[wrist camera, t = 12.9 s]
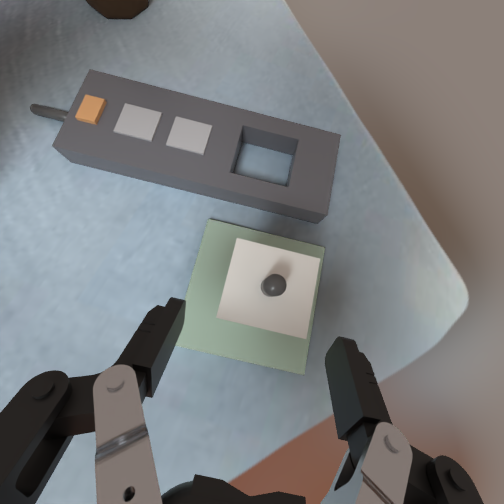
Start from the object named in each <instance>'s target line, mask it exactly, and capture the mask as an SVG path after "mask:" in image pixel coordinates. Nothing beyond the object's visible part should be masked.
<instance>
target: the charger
mask: <svg viewBox="0 0 504 504" xmlns="http://www.w3.org/2000/svg"><path fill="white" fill-rule="evenodd" d="M319 263H320V258H316V257H312V256H308V255H304V254H300V253H296V252H292V251H288V250H284V249H280V248H276V247H272V246H268V245H264V244H260V243H256V242H252V241H248V240H244V239H239V238H237V239H236V243H235V247H234V251H233V255H232V258H231V262H230V266H229V270H228V274H227V278H226V281H225V285H224V289H223V293H222V297H221V301H220V304H219V308H218V312H217V316H216V318H219V319H223V320H227V321H232V322H236V323H240V324H244V325H248V326H253V327H257V328H261V329H265V330H269V331H273V332H278V333H282V334H286V335H290V336H294V337H299V338H303V339H306V338H307V333H308V327H309V321H310V315H311V309H312V303H313V298H314V292H315V286H316V280H317V274H318V269H319Z"/></svg>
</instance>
